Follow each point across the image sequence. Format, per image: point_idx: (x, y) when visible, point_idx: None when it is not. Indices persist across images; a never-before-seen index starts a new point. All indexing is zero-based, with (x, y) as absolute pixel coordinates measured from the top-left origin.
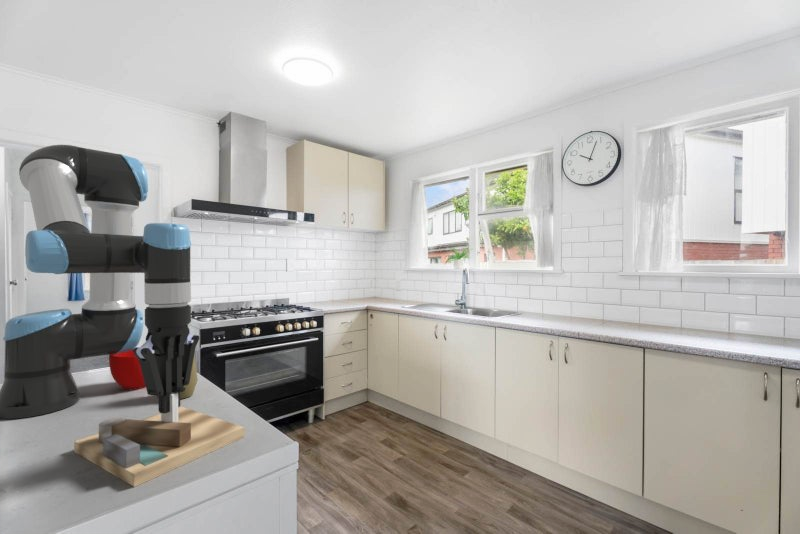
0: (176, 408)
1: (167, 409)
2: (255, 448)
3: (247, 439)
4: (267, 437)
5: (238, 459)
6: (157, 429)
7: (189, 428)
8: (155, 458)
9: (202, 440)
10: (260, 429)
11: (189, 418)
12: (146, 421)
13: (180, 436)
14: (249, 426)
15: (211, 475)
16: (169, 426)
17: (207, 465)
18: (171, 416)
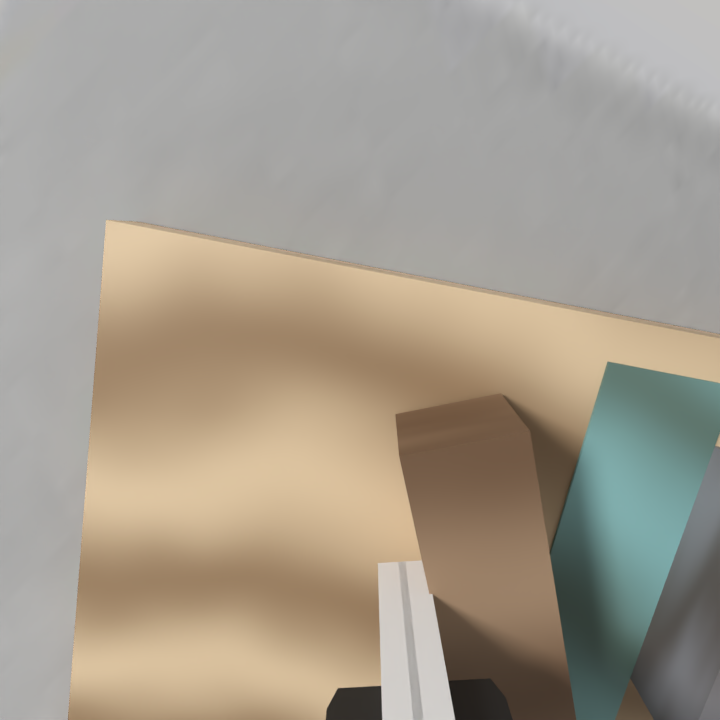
0: (399, 669)
1: (476, 702)
2: (225, 22)
3: (151, 175)
4: (70, 59)
5: (379, 22)
6: (555, 593)
7: (413, 439)
8: (655, 404)
9: (374, 335)
10: (3, 199)
11: (165, 664)
12: None
13: (507, 414)
14: (6, 305)
15: (582, 36)
16: (502, 551)
17: (496, 157)
18: (437, 634)
